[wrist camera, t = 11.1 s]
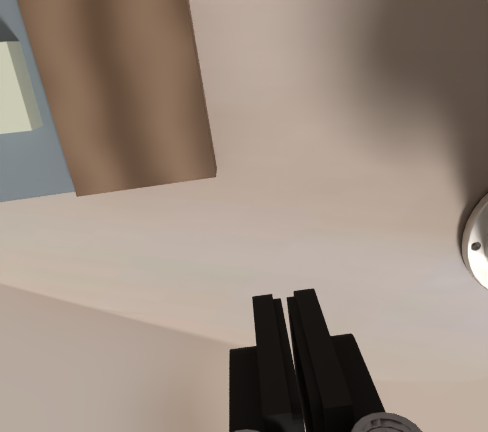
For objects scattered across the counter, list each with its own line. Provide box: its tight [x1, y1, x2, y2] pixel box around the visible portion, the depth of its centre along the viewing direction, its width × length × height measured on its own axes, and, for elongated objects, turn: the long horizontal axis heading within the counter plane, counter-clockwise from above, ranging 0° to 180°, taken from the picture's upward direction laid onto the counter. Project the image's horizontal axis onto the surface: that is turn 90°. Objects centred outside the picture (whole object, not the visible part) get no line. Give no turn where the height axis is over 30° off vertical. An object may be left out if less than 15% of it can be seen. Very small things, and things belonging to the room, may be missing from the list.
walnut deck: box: [17, 0, 217, 197], centre depth 32 cm, size 11×16×2 cm
